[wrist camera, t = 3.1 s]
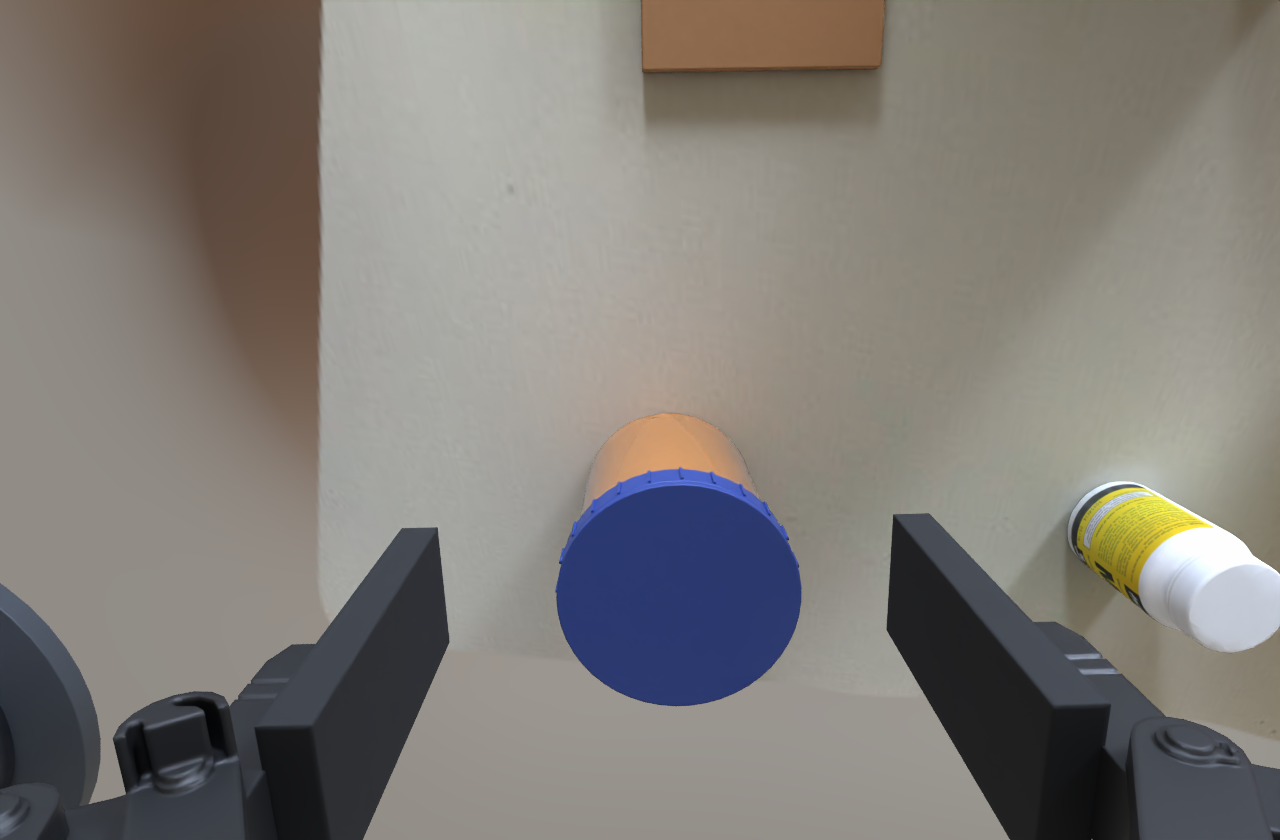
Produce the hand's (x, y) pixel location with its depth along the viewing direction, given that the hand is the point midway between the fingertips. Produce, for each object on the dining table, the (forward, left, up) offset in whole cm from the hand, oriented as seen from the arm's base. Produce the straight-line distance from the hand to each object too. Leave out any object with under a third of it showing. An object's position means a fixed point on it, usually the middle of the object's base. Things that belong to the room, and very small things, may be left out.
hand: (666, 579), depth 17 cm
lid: (+1, -6, -10) cm, 12 cm away
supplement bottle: (+23, -8, -21) cm, 32 cm away
